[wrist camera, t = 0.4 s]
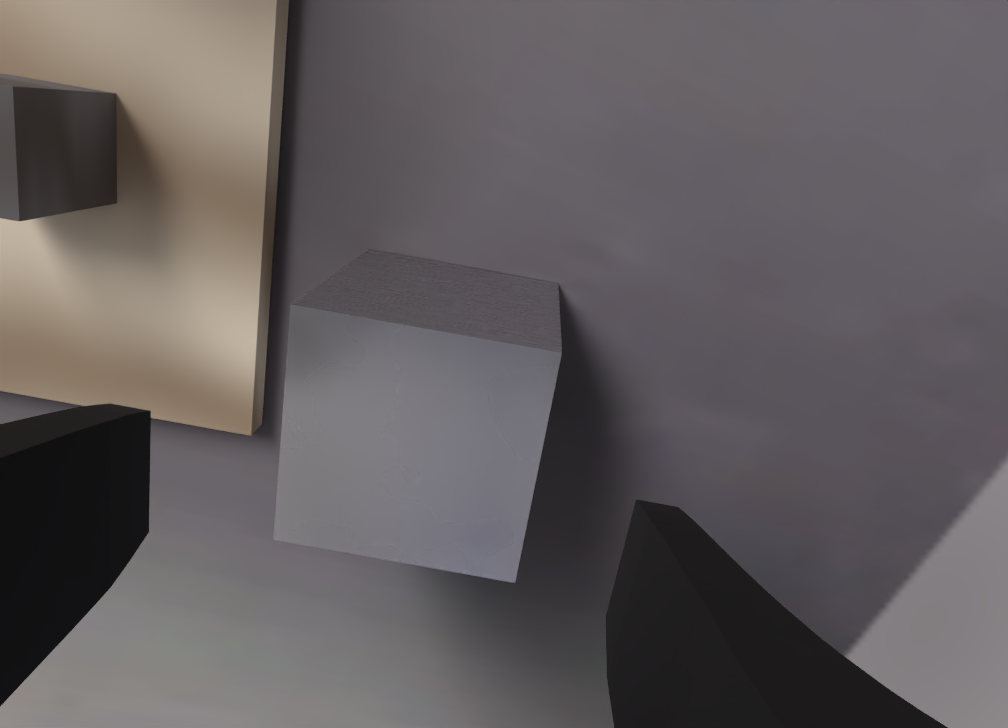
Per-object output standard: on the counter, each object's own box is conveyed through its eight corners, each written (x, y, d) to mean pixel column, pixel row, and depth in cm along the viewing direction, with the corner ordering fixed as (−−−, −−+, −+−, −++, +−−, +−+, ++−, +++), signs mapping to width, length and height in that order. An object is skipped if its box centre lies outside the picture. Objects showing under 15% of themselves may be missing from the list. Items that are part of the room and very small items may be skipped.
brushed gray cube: (524, 455, 20) (514, 583, 15) (350, 423, 20) (273, 539, 15) (558, 283, 19) (561, 352, 13) (368, 249, 19) (290, 304, 13)
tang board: (261, 424, 21) (191, 498, 17) (-84, 362, 21) (-239, 421, 17) (298, -147, 16) (213, -238, 12) (-143, -225, 16) (-378, -341, 12)
